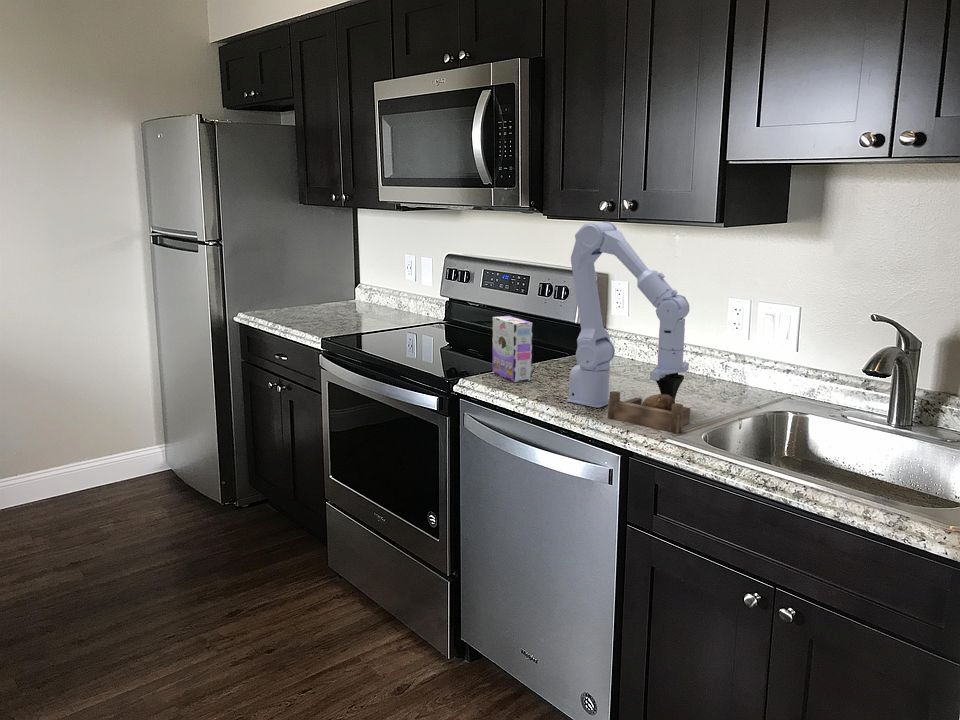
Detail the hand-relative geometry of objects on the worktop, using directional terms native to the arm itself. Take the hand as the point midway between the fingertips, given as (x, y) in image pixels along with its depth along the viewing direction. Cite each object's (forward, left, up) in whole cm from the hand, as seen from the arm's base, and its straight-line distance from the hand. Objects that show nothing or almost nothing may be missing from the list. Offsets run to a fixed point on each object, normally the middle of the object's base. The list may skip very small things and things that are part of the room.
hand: (667, 405), depth 195 cm
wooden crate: (0, -7, -2) cm, 7 cm away
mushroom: (0, -5, -3) cm, 5 cm away
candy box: (-52, +5, -3) cm, 52 cm away
